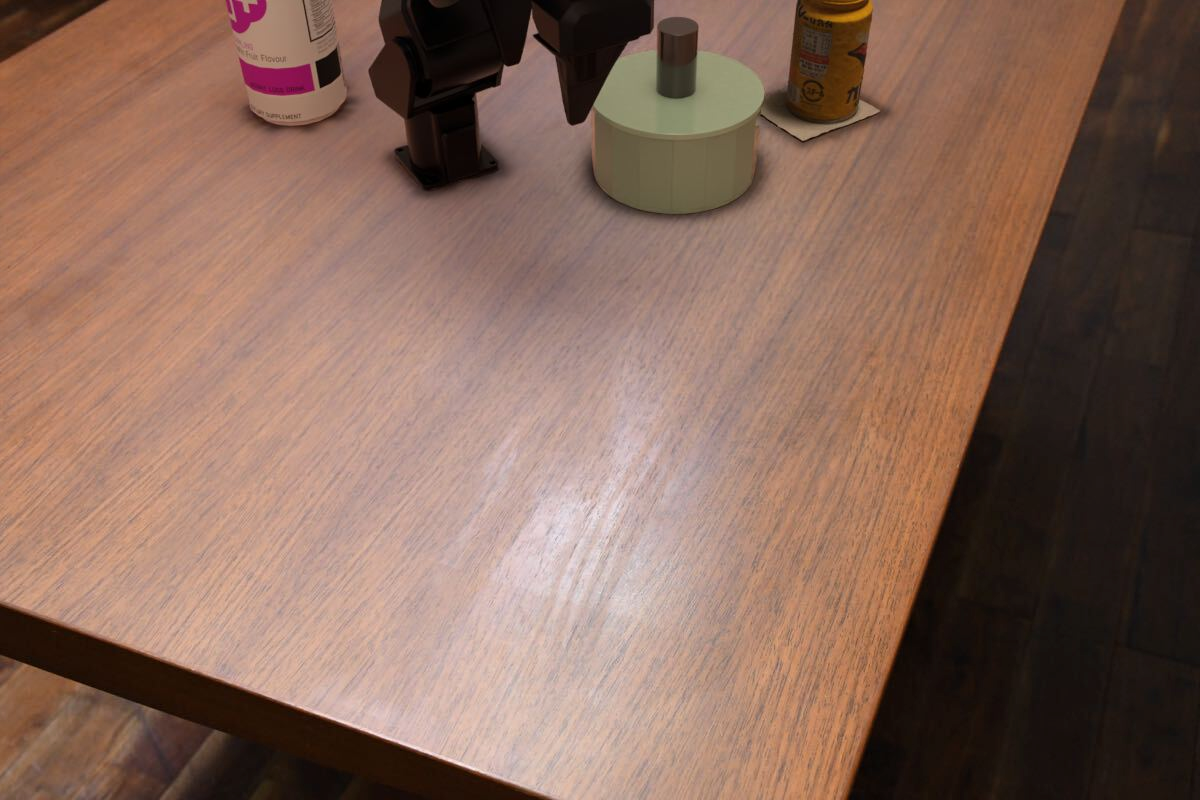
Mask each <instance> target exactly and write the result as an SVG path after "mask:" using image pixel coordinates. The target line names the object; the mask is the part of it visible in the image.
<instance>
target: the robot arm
mask: <svg viewBox="0 0 1200 800" xmlns="http://www.w3.org/2000/svg"><path fill="white" fill-rule="evenodd" d="M531 16H532V17H531ZM531 18H532V20H533V23H534V26H535V28H536V31H537V32H536V33H533V34H532V36H533V39H534V40H536V41H537V42H538V43H539V44H540V45H542V47H544V48H545V49H546V50H547V51H548V52H550V54H552V55H553V56H554V58H555V63H556V69H557V76H558V82H559V88H560V94H561V101H562V105H563V109H564V114H565V118H566V122H567V124H568V125H570V126H573V127H574V126H577V125H580V124H583V123H585V121H586V120H587V118H588V116H589V114H590V113H591V108H592V107H593V105H594V103H595V101H596V99H597V97H598V95H599V93H600V91H601V89H602V87H603V85H604V83H605V81H606V79H607V77H608V75H609V73H610V72H611V70H612V68H613V66H614V64H615V63H616V61H617V60H618V59H619V58H621V57H620V56H621V55H622V54H623V52H624V51H625V49H626V47H627V45H628V44H629V43H630V42H635V41H637V40H639V39H640V38H641V37H644V36H648V35H651V34H652V32H653V30H654V29H655V0H381V2H380V7H379V13H378V19H377V20H378V25H379V28H380V31H381V35H382V38H383V43H384V45H383V47H382V48H381V49H380V51H379V53H378V55H377V56H376V57H375V59H374V60H373V62H372V63H371V65H370V66H369V68H368V72H367V73H368V77H369V78H370V79H369V80H370V82H371V86H372V88H373V93H374V96H375V97H376V99H377V100H379V101H380V102H382V103H383V104H384V105H385V106H387V107H388V108H389V109H391V110H392V111H393V112H394V113H396V114H398V116H400V117H401V118H403V122H404V128H405V136H406V143H407V144H405V145H401V146H398V147H395V148H394V149H393V153H394V158H396V159H397V160H398V162H400V164H401V165H402V166H403V168H404V169H405V170H406V171H407V173H408V174H409V175H410V176H411V177H412V178H413V180H414V181H415V182H416V183H417V184H418V186H419V187H420V188H421V189H422V190H424V191H433V190H435V189H438V188H442V187H445V186H448V185H451V184H454V183H458V182H462V181H465V180H468V179H471V178H475V177H478V176H481V175H484V174H487V173H491V172H494V171H497V170H499V168H500V162H499V160H498V159H497V158H496V157H495V156H494V155H493V154H492V153H491V152H490V151H489V149H488V148H486V147H485V145H483V144H482V137H481V130H480V128H481V127H480V117H479V109H478V108H479V107H478V106H479V105H478V95H477V93H480V92H483V91H486V90H488V89H491V88H493V89H494V88H497V87H500V86H501V85H502V78H503V73H504V67H508V68H509V67H513V66H517V65H519V64H520V63H521V62H522V61H521V60H522V57H523V53H524V49H525V45H526V41H527V36H528V30H529V26H530V21H531Z"/></svg>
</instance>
